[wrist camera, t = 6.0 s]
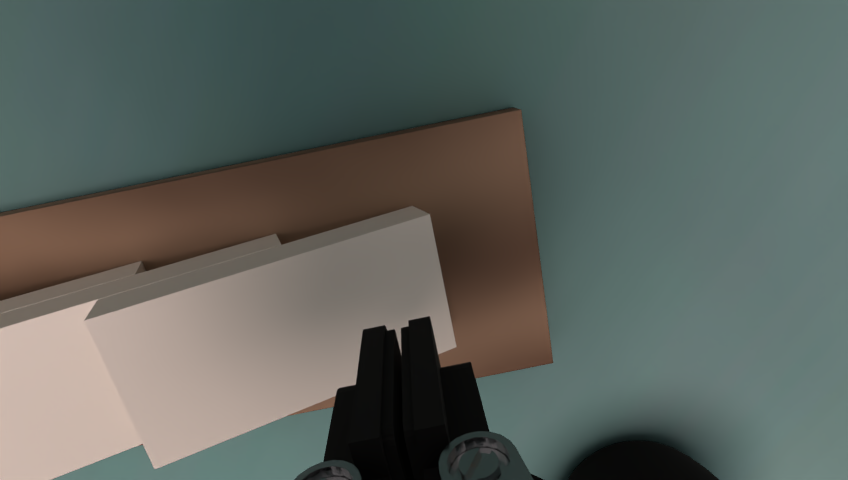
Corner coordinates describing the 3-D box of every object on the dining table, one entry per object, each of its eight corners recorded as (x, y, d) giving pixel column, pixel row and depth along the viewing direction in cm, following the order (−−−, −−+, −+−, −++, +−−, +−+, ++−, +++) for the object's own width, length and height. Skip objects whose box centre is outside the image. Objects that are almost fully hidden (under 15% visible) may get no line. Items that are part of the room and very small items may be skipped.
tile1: (438, 329, 19) (160, 436, 16) (412, 205, 17) (97, 299, 14) (456, 347, 17) (154, 469, 14) (429, 214, 16) (83, 320, 13)
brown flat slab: (-191, 251, 18) (-231, 263, 17) (513, 107, 18) (521, 109, 16) (-52, 466, 21) (-78, 488, 20) (544, 347, 21) (552, 362, 20)
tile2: (313, 354, 19) (12, 467, 16) (275, 233, 17) (-68, 333, 14) (321, 374, 18) (-8, 502, 14) (281, 244, 16) (-99, 358, 13)
